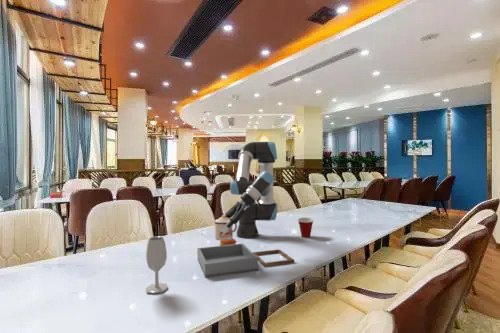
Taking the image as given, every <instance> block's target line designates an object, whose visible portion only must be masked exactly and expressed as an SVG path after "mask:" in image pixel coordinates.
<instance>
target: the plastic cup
mask: <svg viewBox="0 0 500 333" xmlns="http://www.w3.org/2000/svg"><path fill="white" fill-rule="evenodd" d="M314 220H315V219H314V218H312V217H299V218H297V221H298V225H299V230H300V236H301V238H303V239H304V238H305V239H309V238H311V233H312V228H313V224H314Z"/></svg>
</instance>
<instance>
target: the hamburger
mask: <svg viewBox="0 0 500 333" xmlns="http://www.w3.org/2000/svg"><path fill="white" fill-rule="evenodd" d="M219 242H220V243H219V244H218V246H223V245H233V244H237V243H238V241H237V240H236V239H235V238H232V239H231V240H227V241H219Z"/></svg>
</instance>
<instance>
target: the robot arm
mask: <svg viewBox="0 0 500 333" xmlns="http://www.w3.org/2000/svg"><path fill="white" fill-rule="evenodd" d="M237 158H238V164H237V170H236V173H235V174H236V175H235V180H233V181H231V182H230V184H229V186H230V187H229V190H230V193H231V195H237V196H239V195H240V199H241V200H240V201H236V202H235V204H234V205H233V206H231V208H230V209H229V210H228V211H226V213H224V215H225V216H226V217H227V218H229V221H228V222H227V224H226V225H225V226H224V227H223V228H222V229H221V230H220V231H222V232H223V233H224V234H225V233H226V232H227V231H228V230H229V229H230V228H231V227H232V228H233V225H235V223H236V224H237V229H236V237H238V238H240V239H241V238H242V239H243V238H244V239H253V238H257V237H258V236H259V231H258V227H257V221H265V222H266V221H267V222H268V221H269V222H271V221H275V220H276V219H277V213H278V203H276V200H275V199H274V181H275V177H274V164H275V163H276V160H278V153H277V146H276V142H274V141H252V142H248V143H247V144H245V145H244V146H242V148H240V150H239V152H238V155H237ZM253 160H256V161H257V163H258V164H259V175H258V176H257V178H256V179H255V180H250V171H251V165H252V162H253ZM258 199H259V200H258ZM256 201H258V202H257V203H256Z"/></svg>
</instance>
